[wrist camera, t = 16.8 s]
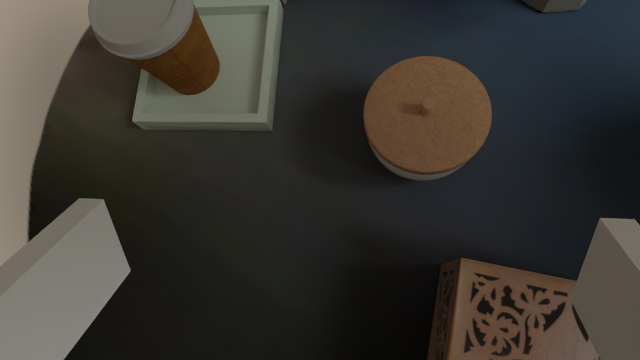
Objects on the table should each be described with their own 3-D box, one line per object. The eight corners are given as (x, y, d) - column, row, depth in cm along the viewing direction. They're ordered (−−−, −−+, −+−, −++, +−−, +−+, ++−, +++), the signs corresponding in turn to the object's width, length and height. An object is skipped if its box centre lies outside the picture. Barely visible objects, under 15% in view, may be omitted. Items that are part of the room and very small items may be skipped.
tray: (283, 11, 49) (278, -4, 46) (272, 131, 45) (266, 122, 43) (164, 15, 51) (153, 1, 48) (144, 129, 47) (131, 121, 45)
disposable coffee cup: (153, 41, 49) (84, -35, 37) (231, 26, 48) (185, -56, 36) (154, 115, 46) (80, 58, 35) (236, 101, 45) (188, 38, 34)
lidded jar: (445, 79, 44) (462, 25, 35) (490, 169, 41) (522, 136, 32) (350, 116, 44) (343, 72, 35) (388, 208, 41) (391, 186, 32)
